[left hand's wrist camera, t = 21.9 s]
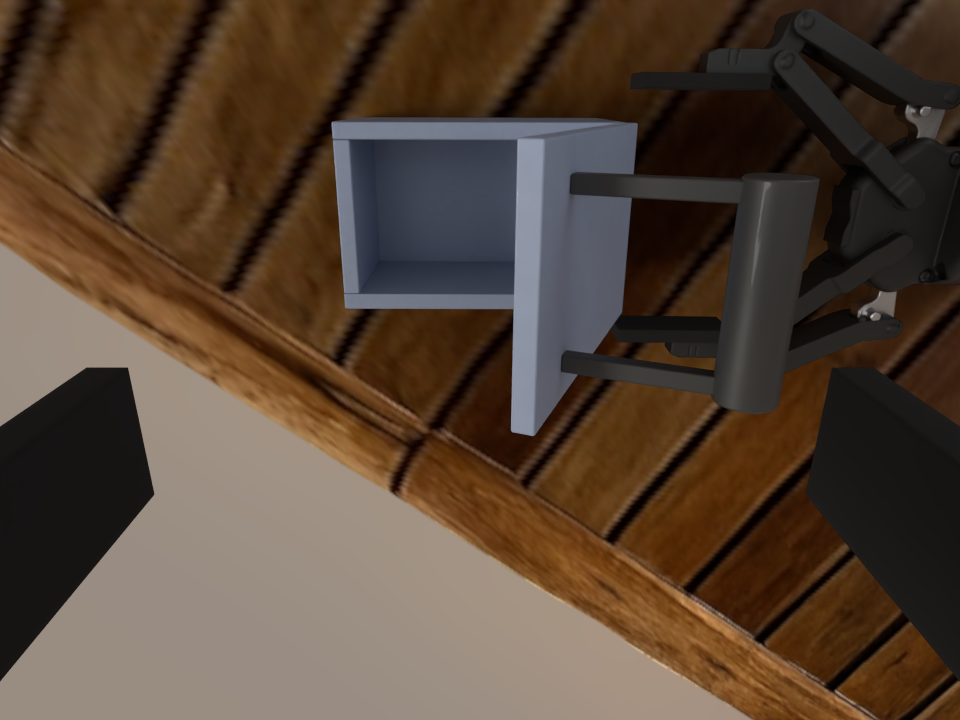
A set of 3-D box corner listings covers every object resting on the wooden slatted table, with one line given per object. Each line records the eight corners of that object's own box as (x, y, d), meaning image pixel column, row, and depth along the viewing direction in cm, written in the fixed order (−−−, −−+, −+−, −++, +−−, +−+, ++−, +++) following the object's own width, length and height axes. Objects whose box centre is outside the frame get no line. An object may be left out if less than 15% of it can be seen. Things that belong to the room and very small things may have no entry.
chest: (369, 270, 45) (345, 308, 36) (360, 117, 41) (331, 121, 33) (588, 271, 45) (612, 309, 36) (598, 117, 41) (626, 122, 33)
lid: (510, 432, 23) (772, 482, 20) (516, 137, 19) (836, 145, 16) (606, 311, 36) (772, 330, 33) (620, 122, 33) (808, 125, 30)
